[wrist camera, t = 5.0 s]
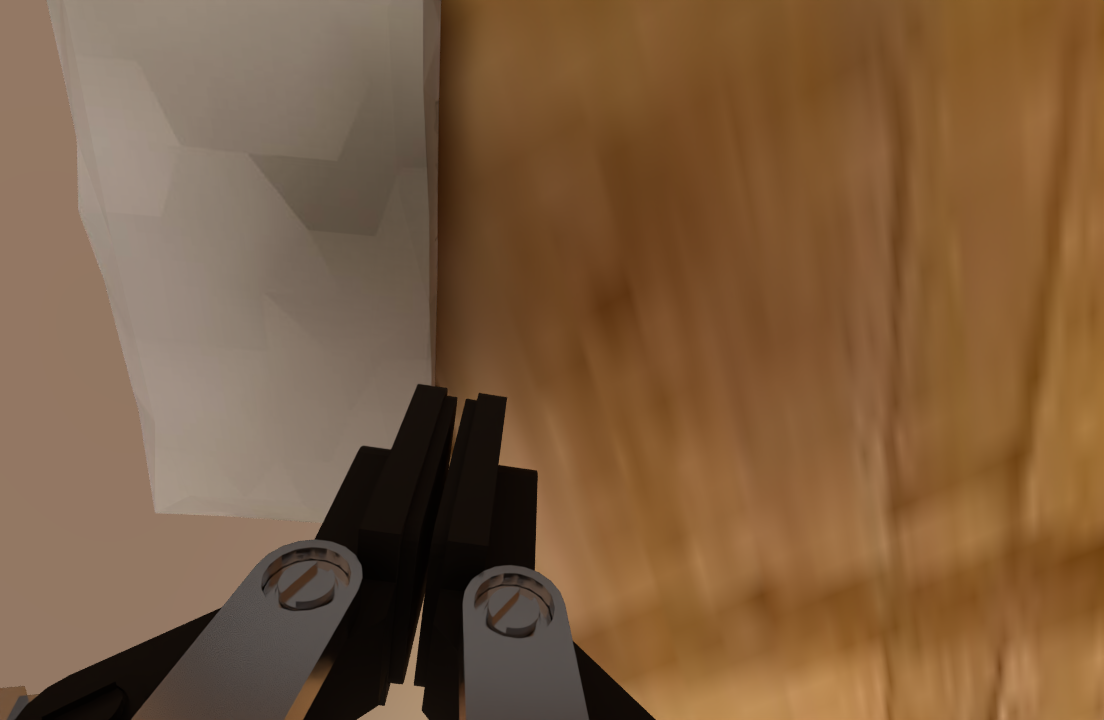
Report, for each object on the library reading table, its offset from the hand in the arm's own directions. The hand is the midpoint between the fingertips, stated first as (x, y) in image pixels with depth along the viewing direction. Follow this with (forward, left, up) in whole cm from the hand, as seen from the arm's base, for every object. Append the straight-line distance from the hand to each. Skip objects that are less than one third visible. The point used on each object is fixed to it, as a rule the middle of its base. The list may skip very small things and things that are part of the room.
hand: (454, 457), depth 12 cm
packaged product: (+1, 0, -10) cm, 10 cm away
